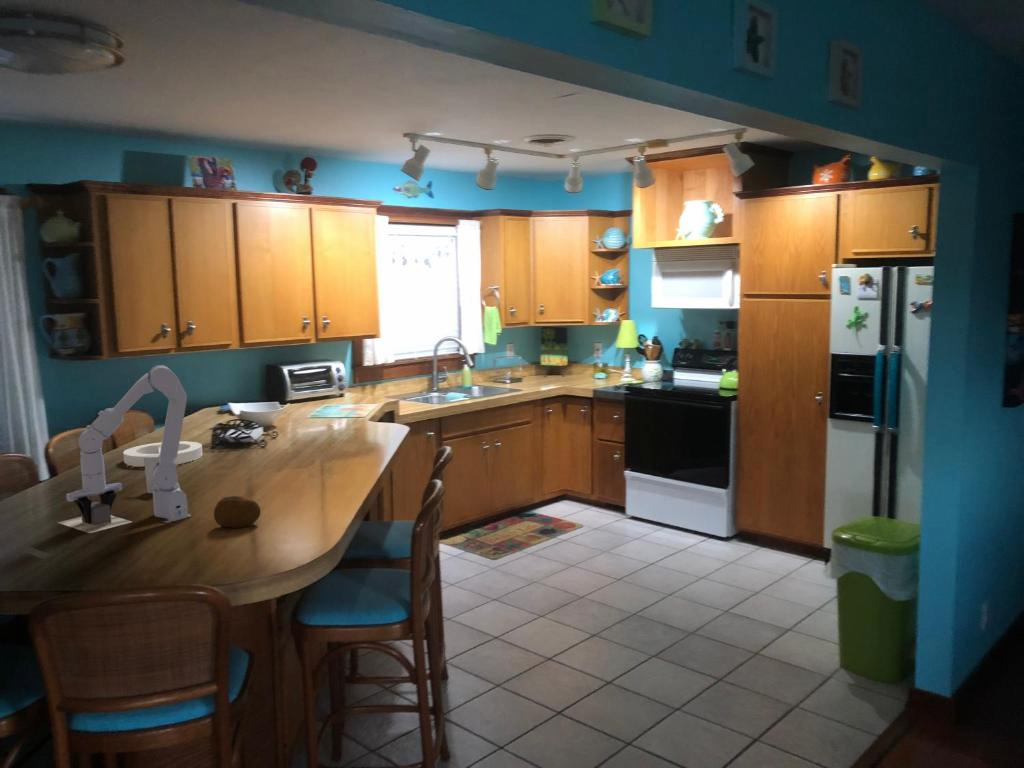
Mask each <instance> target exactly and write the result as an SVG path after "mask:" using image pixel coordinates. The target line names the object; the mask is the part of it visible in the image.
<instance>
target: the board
mask: <svg viewBox="0 0 1024 768" xmlns="http://www.w3.org/2000/svg"><path fill="white" fill-rule="evenodd" d="M130 523H133V521H132V520H128V519H125V518H121V517H118V516H115V515H111V523H108V524H104V525H100V526H96V527H94V526H91V525H88V524H85V523H82V515H81V516H77V517H75V518H70V519H65V520H62V521H58V522H57V524H60V525H64V526H65V527H69V528H73V529H75V530H78V531H81V532H84V533H87V534H92V533H96V532H100V531H103V530H107V529H111V528H115V527H118V526H122V525H126V524H127V525H128V524H130Z"/></svg>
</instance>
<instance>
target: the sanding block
mask: <svg viewBox="0 0 1024 768" xmlns="http://www.w3.org/2000/svg"><path fill="white" fill-rule="evenodd" d="M80 514H81V516H82V523H85V520H84V517H83V515H82V513H81V512H80ZM111 516H112V514H111V511H110V505H107V504H103V503H101V501H100V502H99V501H93V502H92V503H91V523H90V524H88V523H85V524H88V525H91V526H94V527H96V526H100V525H104V524H108V523H111Z"/></svg>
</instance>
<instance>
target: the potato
mask: <svg viewBox="0 0 1024 768" xmlns="http://www.w3.org/2000/svg"><path fill="white" fill-rule="evenodd" d="M260 516H261V508H260V506H259V503H257V502H256V501H255V500H252V499H248V498H247V499H246V498H244V497H242V496H238V495H231V496H225V497H223V498H221V499H220V500H219V501H218V502H217V503H216V505H215V507H214V510H213V519H214V521H215V522H216V524H217V525H218V526H220V527H225V528H226V527H227V528H230V529H232V528H233V529H235V528H236V529H239V528H246V527H249V526H251V525H253V524H255V522H257V520H258V519H259V518H260Z"/></svg>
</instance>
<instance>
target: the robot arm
mask: <svg viewBox="0 0 1024 768" xmlns="http://www.w3.org/2000/svg"><path fill="white" fill-rule="evenodd" d="M155 389H156V390H158V391H160V392H162V393H163V395H164V396H165V397H166V398H167V400H168V405H167V408H166V409H167V410H166V416H165V421H164V429H163V434H162V439H161V442H162V444H161V450H160V454H159V458H158V462H157V464H156V466H155V467H154V468H153V471H152V475H153V478H154V483H155V485H154V486H153V487H152V491H153V493H152V503H153V512H154V513H153V514H154V517H156V518H162V519H163V518H164V519H163V520H160V521H159V523H165V524H169V523H172V521H173V522H176V521H179V520H183V519H187V518H189V517H191V516H192V515H191V514H189V508H188V497H187V493H185V492H184V491H183V490H181V486H180V483H179V482H178V481H179V476H178V475H179V474H178V473H177V466H178V465H177V454H178V448H179V442H180V441H181V440H180V439H181V436H182V431H183V430H182V428H183V425H184V424H183V423H184V417H185V412H186V407H187V401H188V395H187V393H186V391H185V389H184V387H183V385H182V383H181V381H180V379H179V377H178V376H177V374H175V372H173V371H172V369H170V368H169V367H168V366H166V365H162V364H157V365H154V366H153V367H152V368H150V370H149V371H148V372H146V373H145V374H144V375H142V376H141V377H140V378H138V380H137V381H136V382H135V383H134V384H133V385H132V386H131V388H130V389H129V390H128V391H127V392H126V393H125V394H124V395H123V396H122V398H120V400H119V401H118V402H117V404H116V405H114V407H109V408H105V409H104V410H100V411H99V412H98V416H97V417H96V419H94V420H93V421H92V423H91V424H87V425H86V427H85V429H86V430H84V431H83V432H81V434H80V435H79V438H78V441H77V442H78V446H79V447H78V448H80V452H79V454H80V459H79V461H80V470H81V480H82V481H81V483H82V489H79V490H76V491H72V492H70V493H66V495H65V496H66V497H65V498H66V501H67V502H70V503H71V502H74V503H75V504H76V506H77V507H78V509H79V511H80V514H81V513H82V514H81V516H82V515H83V517H84V520H85V523H88V524H90V523H91V503H93V502H92V500H91V499H89V498H90V497H94V496H99V499H100V503H103V504H107V505H110V512H111V511H112V507H113V504H114V502H115V499H116V498H117V493H116V492H117V491H122V490H123V483H121V482H115V483H108V484H107V482H106V469H105V459H104V458H105V457H104V455H103V449H102V447H103V445H104V441H105V440H107V439H108V438H110V436H112V435H113V434H114V433H115V432H116V430H117V429H118V428H119V427H120V426H121V425H122V424H123V423H124V415H125V414H126V412H128V411H129V410H130V409H131V408H132V406H133V405H135V404H136V402H138V401H139V399H141V398H142V397H143V395H146V394H150V393H153V392H155Z"/></svg>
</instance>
